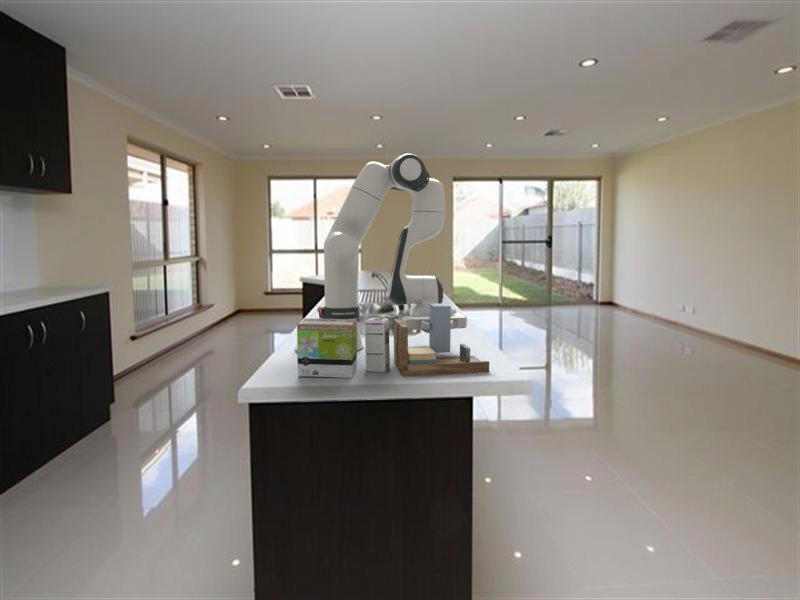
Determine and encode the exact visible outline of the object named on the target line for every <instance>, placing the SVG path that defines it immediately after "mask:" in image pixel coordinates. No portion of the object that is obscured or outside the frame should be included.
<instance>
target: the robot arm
mask: <svg viewBox="0 0 800 600" xmlns="http://www.w3.org/2000/svg"><path fill="white" fill-rule="evenodd" d="M390 189H391V190H397V191H402V192H405V191H407V192H408V193H409V194H410V195H411V198H412V199H411V201H412V205H411V206H412V207H411V217H410V221H409V223H408V224H407V226H405V227H402V229H401V231H400V235H399V237H398V242H397V247H396V249H395V250H396V251H395V256H394V259H393V260H394V261H393V265H392V269H391V274H390V277H389V280H388V283H387V289H386V293H387V299H389V300H390V302H392V303H393V304H394V305H397V306H400V305H407V304H408V305H411V306H410V307H409V315H408V314H407V315H403V317H402V318H399V319H400V320H401V321H402V322H403V323H404V324H405V325H406V326H407V327H408V331H417V330H419V331H420V330H421V331H422V332H424V333H426V334H429V329H432V323H430V304H442V303H443V300H444V286H443V285H442V283H441V281H440V279H438V277H437V276H435V275H407V274H405V273H406V267H407V263H408V260H409V259H408V258H409V254H410V251H411V250H412V248H414V246H416V245H418V244H420V243H423V242H425V241H428V240H429V241H430V239H433V238H435V237H438V235H440V233H441V232H442V231H443V229H444V227H445V220H446V219H445V217H446V196H445V195H446V194H445V189H444V185H443V184H442V182H441V181H439V180H437V179H435V178H432V177H431V175H430V173H429V171H428V169H427V168H426V165H425V163H424V161H423V160H422V158H421V157H419V156H418V155H416V154H414V153H404V154H402V155H400V156H398V157H396V158H395V159H394V160H393V161H392V162H391V163H389V164H388V165H386V164H383V163H380V162H378V161H369V162H368V163H366V164H365V165H364V167H362V169H361V170H360V171H359V173H358V175H357V176H356V178H355V180H354V181H353V184H352V185H351V187H350V190H349V192H348V194H347V196H346V198H345V200H344V202H343V204H342V206H341V208H340V210H339V212H338V213H337V216H336V218H335V220H334V222H333V223H332V226H331V228H330V230H329V232H328V234H327V236H326V238H325V240H324V243H323V254H324V255H323V258H324V260H323V261H324V264H323V265H324V266H323V267H324V269H323V270H324V272H323V273H324V306H318V307H317V312H318V317H319V318H318V319H352V320H357V351H359V350H362V349H363V348H364V344H363V341H362V336H361V330H360V321H361V309H360V305H359V269H360V268H359V261H360V244H362V241H363V239H364V238H365V236H366V234H367V233H368V231H369V228H370V227H371V225H372V223H373V221H374V219H375V218H376V215H377V214H378V211H379V210H380V207H381V205H382V203H383V201H384V198H385V196H386V195H387V194H388V192H389V190H390ZM467 325H468V319H467V316H466V315H465V314H463V313H461V312H459V311H457V310H456V308H451V330H452V329H453V330H454V329H455V330H456V329H466V328H467V327H468V326H467ZM295 352H297V344H296V345H295Z"/></svg>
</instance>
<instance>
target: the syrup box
mask: <svg viewBox="0 0 800 600" xmlns="http://www.w3.org/2000/svg"><path fill="white" fill-rule="evenodd" d="M364 337H365V339H364V343H365V345H364V347H365V349H364V350H365V351H364V352H365V370H366V371H367V372H373V371H379V372H378V373H381V372H382V373H385V372H386V371H387V370H388V369H389V368H390V366H391V365H390V364H391V363H390V362H391V360H390V357H391V355H390V354H391V353H390V320H389V318H388V317H370V318H368V319H367V320H364Z"/></svg>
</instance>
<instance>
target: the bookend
mask: <svg viewBox="0 0 800 600" xmlns="http://www.w3.org/2000/svg"><path fill="white" fill-rule="evenodd" d="M459 356H460V361H461V362H475V361H481V359H479V358H478V357H476V358H474V359H470V356H471V347H469V346H468V345H466V344H465V343H459Z"/></svg>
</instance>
